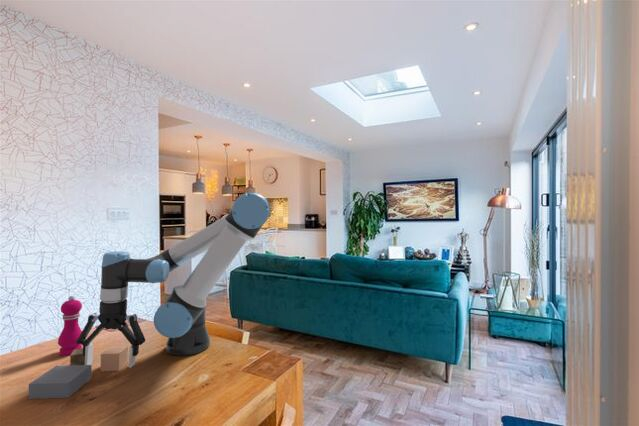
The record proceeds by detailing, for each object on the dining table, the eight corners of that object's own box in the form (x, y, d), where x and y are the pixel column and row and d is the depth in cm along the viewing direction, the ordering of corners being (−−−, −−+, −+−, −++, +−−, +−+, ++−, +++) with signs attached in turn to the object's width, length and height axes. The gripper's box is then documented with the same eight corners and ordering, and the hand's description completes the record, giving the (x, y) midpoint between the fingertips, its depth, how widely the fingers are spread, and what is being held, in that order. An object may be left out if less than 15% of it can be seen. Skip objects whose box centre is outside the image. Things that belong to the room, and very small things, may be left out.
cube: (127, 362, 107) (127, 346, 106) (118, 370, 101) (119, 353, 101) (110, 363, 106) (110, 346, 106) (100, 371, 101) (100, 354, 100)
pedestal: (91, 378, 96) (91, 364, 96) (68, 397, 86) (68, 382, 86) (55, 379, 95) (56, 365, 95) (28, 398, 85) (28, 383, 85)
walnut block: (90, 360, 107) (90, 347, 107) (87, 366, 103) (87, 353, 103) (74, 362, 106) (74, 349, 105) (70, 369, 101) (70, 355, 101)
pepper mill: (55, 357, 109) (56, 299, 109) (60, 349, 115) (61, 294, 115) (81, 353, 112) (82, 297, 112) (85, 346, 118) (86, 292, 118)
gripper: (158, 297, 108) (154, 360, 108) (80, 295, 106) (77, 359, 106) (148, 304, 101) (144, 371, 101) (65, 301, 98) (61, 370, 99)
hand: (110, 365), depth 103 cm, fingers open, 13 cm apart
